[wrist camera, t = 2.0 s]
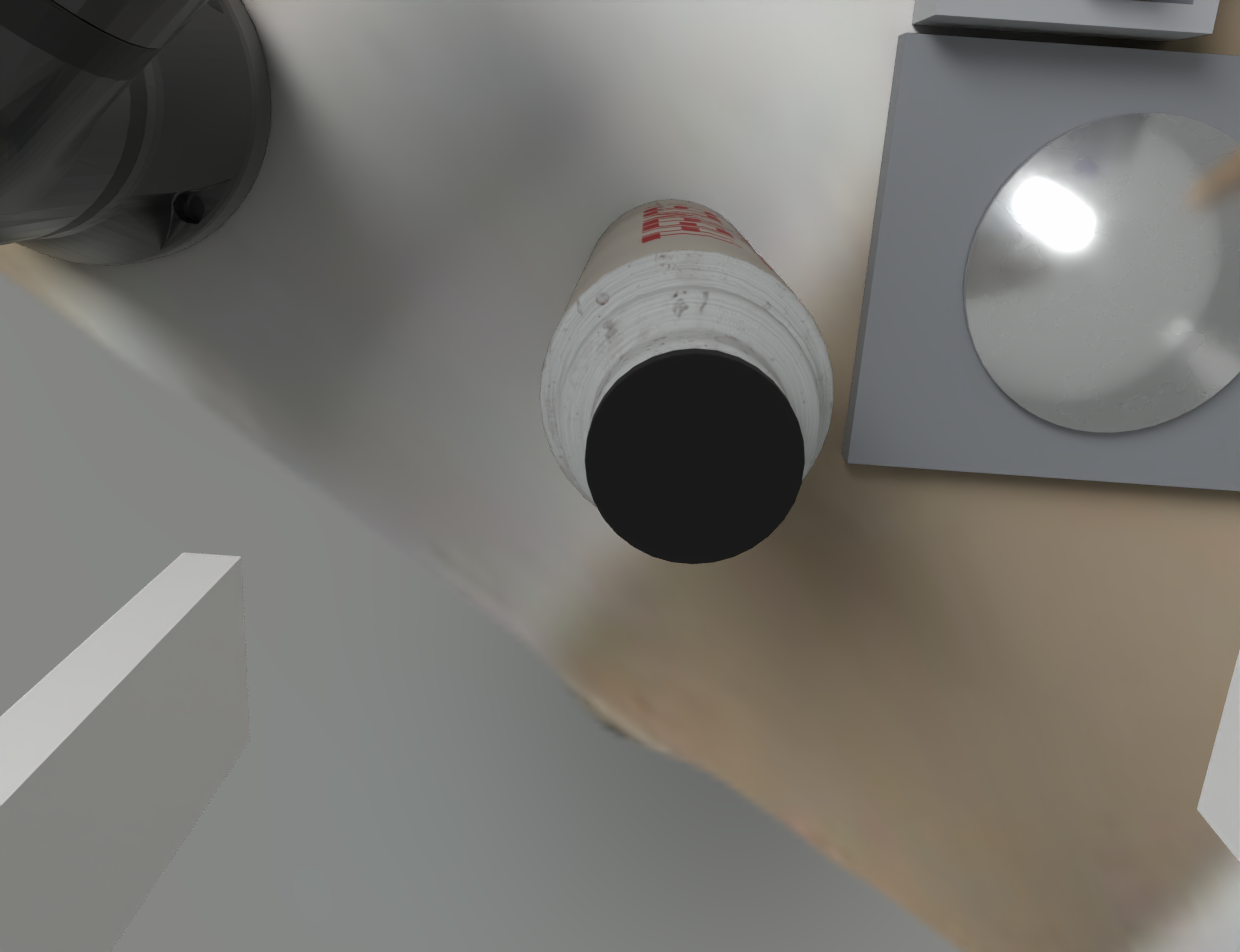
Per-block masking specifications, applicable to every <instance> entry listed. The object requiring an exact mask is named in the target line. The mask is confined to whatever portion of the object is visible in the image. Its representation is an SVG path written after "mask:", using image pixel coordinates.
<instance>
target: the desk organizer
mask: <svg viewBox="0 0 1240 952" xmlns="http://www.w3.org/2000/svg"><path fill="white" fill-rule="evenodd" d="M1219 1H1220V0H1151V2H1147V1H1133V0H915V6H914V13H913V20H912V24H916V25H930V26H945V27H959V28H974V29H988V30H1003V31H1017V32H1031V33H1046V34H1060V35H1075V36H1089V37H1103V38H1118V39H1132V40H1147V41H1161V42H1168V41H1174V40H1179V39H1185V38H1191V37H1197V36H1202V35H1208V34H1212V33H1213V28H1214V24H1215V19H1216V14H1217V10H1218V5H1219Z"/></svg>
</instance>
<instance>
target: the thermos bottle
mask: <svg viewBox="0 0 1240 952" xmlns="http://www.w3.org/2000/svg"><path fill="white" fill-rule="evenodd" d="M833 402H834V392H833V371H832V367H831V363H830V359H829V355H828V351H827V347H826V343H825V341H824V339H823V337H822V335H821V333H820V331H819V329H818V327H817V325H816V323H815V321H814V319H813V317H812V315H811V314H810V313H809V312H808V310H807V309H806V308H805V306H804V305H803V304H802V302H801V301H800V300H799V299H798V297H797V296H796V295H795V293H794V292H793V291H792V290H791V289H790V288H789V287H788V286H787V285H786V284H785V282H784V281H783V280H782V279H781V278H780V277H779V276H778V275H777V274H776V272H775V271H774V270H773V269H772V268H771V267H770V266H769V265H768V264H767V263H766V261H765V260H764V259H763V258H762V257H761V256H759V255H758V254H757V253H756V252H755V250H754V249H753V248H752V247H751V245H750V244H749V243H748V242H747V240H746V239H745V238H744V237H743V236H742V235H741V234H740V233H739V232H738V230H737V229H736V228H735V227H734V226H733V225H732V224H731V223H729V222H728V221H727V220H726V219H725V218H724V217H722V216H721V215H720V214H718V213H716V212H715V211H713V210H711V209H709V208H707V207H706V206H703V205H700V204H696V203H693V202H690V201H683V200H673V199H671V200H661V201H653V202H650V203H647V204H644V205H641V206H638V207H636V208H634V209H632V210H630V211H629V212H627V213H625V214H623V215H622V216H621V217H620V218H618V219H617V220H616V221H615V222H614V223H612V224H611V225H610V226H609V227H608V229H607V230H606V231H605V232H604V234H603V235H602V236H601V237H600V239H599V240H598V242H597V244H596V246H595V248H594V250H593V252H592V254H591V256H590V258H589V260H588V262H587V264H586V266H585V269H584V271H583V273H582V275H581V277H580V279H579V281H578V283H577V285H576V288H575V290H574V292H573V294H572V296H571V298H570V300H569V302H568V304H567V307H566V309H565V313H564V315H563V317H562V319H561V321H560V322H559V324H558V326H557V328H556V330H555V332H554V334H553V336H552V338H551V340H550V343H549V346H548V350H547V353H546V357H545V360H544V364H543V367H542V374H541V387H540V405H541V413H542V421H543V427H544V430H545V433H546V436H547V439H548V442H549V445H550V448H551V451H552V453H553V455H554V457H555V458H556V460H557V462H558V464H559V465H560V467H561V469H562V471H563V472H564V474H565V476H566V477H567V478H568V479H569V481H570V482H571V483H572V484H573V485H574V486H575V487H576V489H577V490H578V491H579V492H580V493H581V494H582V495H583V497H584V498H586V499H587V500H588V501H590V502H591V503H592V504H593V505H595V506H596V507H597V508H598V510H599V512H600V513H601V515H602V517H603V518H604V520H605V521H606V522H607V523H608V524H609V525H610V527H611V528H612V529H613V530H614V531H615V532H616V534H617V535H619V536H620V537H621V538H623V539H624V540H625V541H627V542H628V543H629V544H630V545H632V546H633V547H635V548H637V549H639V550H641V551H643V552H645V553H647V554H649V555H651V556H653V557H656V558H660V559H663V560H667V561H670V562H677V563H687V564H699V563H711V562H716V561H720V560H724V559H727V558H731V557H734V556H736V555H738V554H741V553H743V552H745V551H747V550H749V549H751V548H753V547H754V546H756V545H757V544H758V543H760V542H761V541H762V540H764V539H765V538H766V537H768V536H769V535H770V534H771V533H772V532H773V531H774V530H775V529H776V528H777V527H778V526H779V524H780V523H781V522H782V521H783V520H784V519H785V517H786V515H787V514H788V512H789V511H790V509H791V507H792V506H793V504H794V502H795V500H796V497H797V494H798V492H799V489H800V486H801V484H802V480H803V479H804V478H805V477H806V475H807V473H808V472H809V470H810V468H811V467H812V465H813V464H814V462H815V460H816V459H817V457H818V456H819V454H820V451H821V448H822V446H823V443H824V440H825V438H826V435H827V432H828V430H829V426H830V420H831V414H832V408H833Z"/></svg>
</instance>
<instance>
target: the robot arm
mask: <svg viewBox="0 0 1240 952" xmlns="http://www.w3.org/2000/svg"><path fill="white" fill-rule="evenodd" d="M270 118H271V96H270V85H269V77H268V71H267V67H266V62H265V58H264V54H263V51H262V47H261V44H260V41H259V39H258V36H257V33H256V31H255V28H254V26H253V24H252V21H251V19H250V17H249V15H248V13H247V11H246V9H245V7H244V6H243V4H242V2H241V1H240V0H0V245H4V244H10V243H18V244H20V245H23V246H25V247H28V248H30V249H33V250H35V251H37V252H40V253H42V254H45V255H48V256H51V257H54V258H58V259H62V260H66V261H71V262H76V263H83V264H93V265H123V264H131V263H137V262H142V261H146V260H150V259H154V258H158V257H162V256H166V255H169V254H173V253H175V252H178V251H181V250H183V249H186V248H188V247H190V246H192V245H194V244H196V243H197V242H199V241H201V240H202V239H204V238H206V237H207V236H208V235H210V234H211V233H213V232H214V231H215V230H216V229H218V228H219V227H220V226H221V225H222V224H223V223H224V222H225V221H226V220H227V219H228V218H229V217H230V216H231V215H232V214H233V213H234V212H235V210H236V209H237V208H238V207H239V206H240V204H241V203H242V201H243V200H244V198H245V197H246V195H247V194H248V192H249V190H250V189H251V187H252V185H253V183H254V181H255V179H256V177H257V174H258V172H259V169H260V167H261V164H262V161H263V158H264V155H265V151H266V146H267V142H268V136H269V129H270ZM244 623H245V622H244V600H243V578H242V557H240V556H226V555H211V554H198V553H182V554H181V555H180V556H179V557H178V558H177V559H175V560H174V561H173V562H172V563H171V564H170V565H169V566H168V567H167V568H165V569H164V570H163V571H162V572H161V573H160V574H159V575H158V576H157V577H155V578H154V579H153V580H152V581H151V582H150V583H149V584H148V585H146V586H145V587H144V588H143V589H142V590H141V591H140V592H139V593H138V594H136V595H135V596H134V597H133V598H132V599H131V600H130V601H129V602H128V603H126V604H125V605H124V606H123V607H122V608H121V609H120V610H119V611H117V612H116V613H115V614H114V615H113V616H112V617H111V618H110V619H109V620H107V621H106V622H105V623H104V624H103V625H102V626H101V627H100V628H99V629H97V630H96V631H95V632H94V633H93V634H92V635H91V636H90V637H89V638H87V639H86V640H85V641H84V642H83V643H82V644H81V645H80V646H79V647H77V648H76V649H75V650H74V651H73V652H72V653H71V654H70V655H68V656H67V657H66V658H65V659H64V660H63V661H62V662H61V663H60V664H58V665H57V666H56V667H55V668H54V669H53V670H52V671H51V672H49V673H48V674H47V675H46V676H45V677H44V678H43V679H42V680H41V681H39V682H38V683H37V684H36V685H35V686H34V687H33V688H32V689H31V690H29V691H28V692H27V693H26V694H25V695H24V696H23V697H22V698H21V699H20V700H18V701H17V702H16V703H15V704H14V705H13V706H12V707H10V709H8V710H7V711H6V712H5V713H4V714H3V715H2V716H0V952H111V951H112V950H113V948H114V946H115V945H116V944H117V942H118V940H119V939H120V937H121V936H122V934H123V933H124V931H125V930H126V928H127V927H128V925H129V924H130V922H131V921H132V919H133V918H134V916H135V915H136V913H137V912H138V910H139V909H140V907H141V906H142V904H143V902H144V901H145V899H146V898H147V896H148V895H149V893H150V892H151V890H152V889H153V887H154V886H155V884H156V883H157V881H158V880H159V878H160V876H161V875H162V873H163V872H164V870H165V869H166V868H167V866H168V865H169V863H170V861H171V860H172V858H173V857H174V855H175V854H176V852H177V851H178V849H179V848H180V846H181V845H182V843H183V842H184V840H185V839H186V837H187V836H188V834H189V833H190V831H191V830H192V828H193V827H194V825H195V824H196V822H197V821H198V819H199V818H200V816H201V814H202V813H203V811H204V810H205V808H206V807H207V805H208V804H209V802H210V801H211V799H212V798H213V796H214V795H215V793H216V792H217V790H218V788H219V787H220V786H221V784H222V783H223V781H224V780H225V778H226V777H227V775H228V773H229V772H230V770H231V768H232V767H233V766H234V764H235V763H236V761H237V760H238V758H239V757H240V755H241V754H242V752H243V751H244V749H245V748H246V746H247V745H248V743H249V741H250V733H249V711H248V688H247V667H246V644H245V624H244ZM1197 810H1198V811H1199V812H1200V814H1201V815H1202V816H1203V817H1204V819H1205V820H1206V821H1207V822H1208V823H1209V825H1210V826H1211V827H1212V828H1213V830H1214V831H1215V832H1216V833H1217V835H1218V836H1219V837H1220V838H1221V839H1222V841H1223V842H1224V843H1225V844H1226V846H1227V847H1228V848H1229V849H1230V851H1231V852H1232V853H1233V854H1234V856H1235V857H1236V858H1237V859H1238V860H1239V862H1240V651H1239V654H1238V658H1237V662H1236V666H1235V669H1234V673H1233V677H1232V680H1231V684H1230V688H1229V692H1228V695H1227V699H1226V703H1225V707H1224V710H1223V714H1222V718H1221V722H1220V725H1219V729H1218V733H1217V737H1216V740H1215V744H1214V748H1213V751H1212V755H1211V759H1210V763H1209V766H1208V770H1207V774H1206V778H1205V781H1204V785H1203V789H1202V793H1201V796H1200V800H1199V804H1198V807H1197Z"/></svg>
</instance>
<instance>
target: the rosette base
mask: <svg viewBox="0 0 1240 952" xmlns="http://www.w3.org/2000/svg"><path fill="white" fill-rule="evenodd" d="M842 455H843V457H844V458H845V460H846V462H847V463H851V464H865V465H879V466H893V467H907V468H921V469H935V470H949V471H963V472H977V473H991V474H1005V475H1020V476H1034V477H1048V478H1062V479H1076V480H1090V481H1104V482H1118V483H1132V484H1146V485H1160V486H1174V487H1188V488H1202V489H1216V490H1230V491H1240V56H1234V55H1220V54H1205V53H1191V52H1176V51H1162V50H1148V49H1133V48H1119V47H1104V46H1090V45H1075V44H1061V43H1047V42H1032V41H1018V40H1003V39H989V38H975V37H960V36H946V35H931V34H917V33H905V34H902V35H900V36H899V38H898V45H897V53H896V60H895V67H894V75H893V82H892V89H891V97H890V104H889V112H888V119H887V126H886V134H885V141H884V148H883V156H882V163H881V171H880V178H879V185H878V193H877V200H876V208H875V215H874V222H873V230H872V237H871V244H870V252H869V259H868V267H867V274H866V281H865V289H864V296H863V304H862V311H861V318H860V326H859V333H858V340H857V348H856V355H855V363H854V370H853V377H852V385H851V392H850V400H849V407H848V414H847V422H846V429H845V436H844V444H843V451H842Z"/></svg>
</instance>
